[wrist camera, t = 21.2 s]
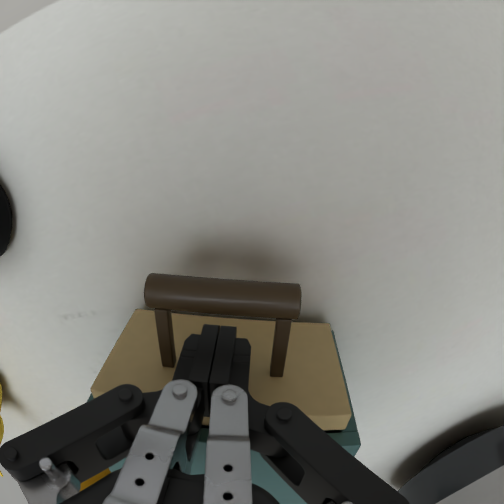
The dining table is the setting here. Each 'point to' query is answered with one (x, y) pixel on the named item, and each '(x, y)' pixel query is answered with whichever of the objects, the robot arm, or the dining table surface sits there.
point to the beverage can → (4, 221)
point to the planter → (462, 473)
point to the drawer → (256, 331)
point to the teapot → (0, 423)
